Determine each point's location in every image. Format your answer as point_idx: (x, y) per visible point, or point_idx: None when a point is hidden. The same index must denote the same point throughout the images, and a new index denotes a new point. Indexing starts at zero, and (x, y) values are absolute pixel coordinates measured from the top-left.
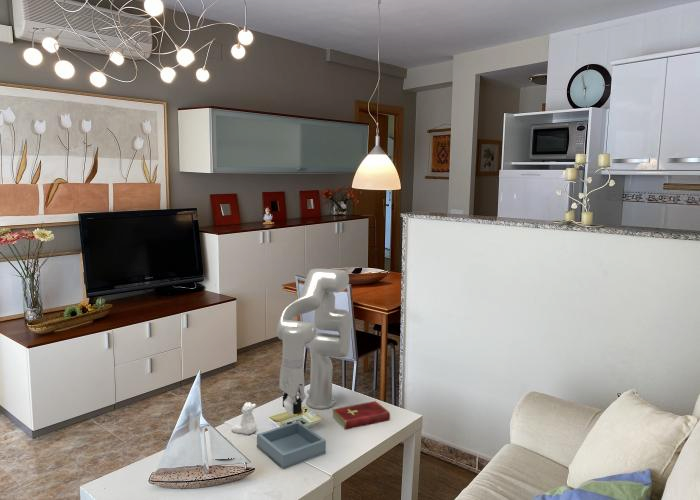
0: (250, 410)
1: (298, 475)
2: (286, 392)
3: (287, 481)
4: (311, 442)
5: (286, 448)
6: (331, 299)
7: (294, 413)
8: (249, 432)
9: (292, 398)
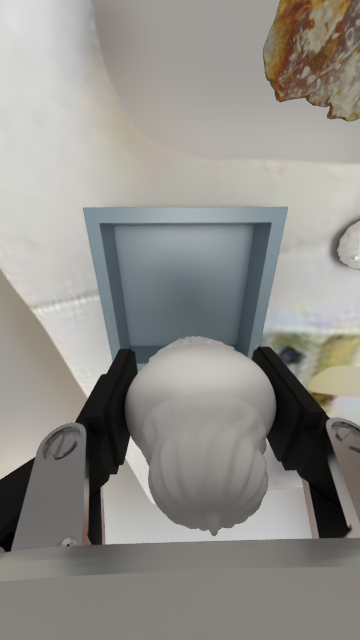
0: None
1: (54, 236)
2: (207, 613)
3: (33, 186)
4: None
5: (187, 280)
6: None
7: (119, 354)
8: (346, 232)
9: (160, 466)
